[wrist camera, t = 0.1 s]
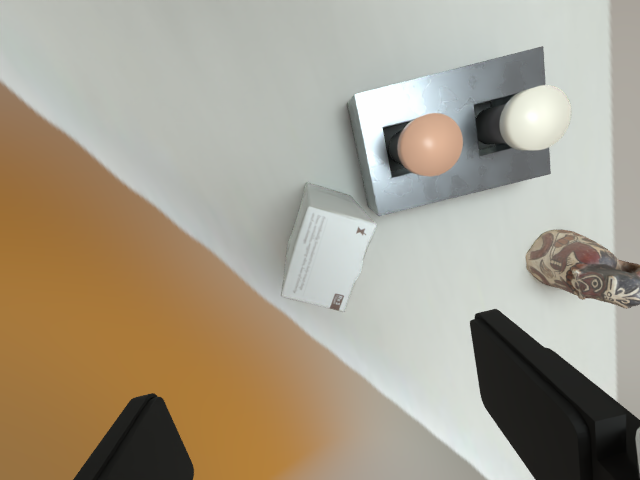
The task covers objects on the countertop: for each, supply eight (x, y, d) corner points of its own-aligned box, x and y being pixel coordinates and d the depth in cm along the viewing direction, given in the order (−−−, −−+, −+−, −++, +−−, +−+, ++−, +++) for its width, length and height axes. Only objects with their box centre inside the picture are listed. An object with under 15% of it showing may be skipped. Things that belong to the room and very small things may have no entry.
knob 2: (463, 107, 34) (507, 93, 26) (512, 94, 33) (569, 78, 26) (469, 156, 35) (513, 156, 28) (516, 144, 35) (572, 142, 27)
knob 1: (378, 128, 34) (397, 121, 26) (425, 116, 34) (458, 106, 26) (386, 176, 35) (408, 182, 28) (432, 165, 35) (466, 168, 28)
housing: (347, 103, 37) (354, 94, 31) (505, 63, 36) (543, 46, 31) (368, 207, 40) (378, 215, 34) (514, 171, 39) (550, 173, 34)
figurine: (522, 237, 42) (605, 269, 30) (578, 222, 41) (683, 248, 30) (529, 287, 43) (610, 336, 32) (582, 273, 43) (683, 316, 32)
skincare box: (306, 181, 39) (305, 197, 24) (354, 196, 40) (381, 220, 25) (286, 246, 41) (275, 297, 26) (332, 260, 41) (346, 316, 27)
